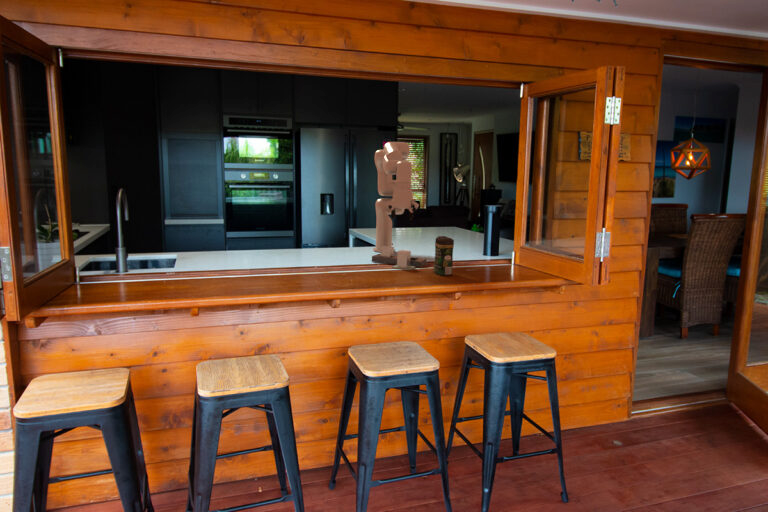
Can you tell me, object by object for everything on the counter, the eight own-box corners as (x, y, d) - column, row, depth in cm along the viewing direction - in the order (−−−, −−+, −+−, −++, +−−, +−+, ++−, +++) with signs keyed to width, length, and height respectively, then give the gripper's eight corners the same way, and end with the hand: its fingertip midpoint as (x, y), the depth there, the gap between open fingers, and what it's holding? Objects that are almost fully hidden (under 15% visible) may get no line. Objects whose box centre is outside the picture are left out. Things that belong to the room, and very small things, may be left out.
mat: (397, 265, 272) (397, 264, 272) (415, 267, 268) (415, 266, 268) (391, 267, 266) (392, 266, 266) (410, 270, 262) (410, 269, 262)
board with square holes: (378, 259, 289) (379, 253, 289) (426, 264, 278) (426, 258, 277) (371, 261, 281) (371, 256, 281) (420, 267, 270) (420, 261, 269)
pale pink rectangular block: (400, 265, 271) (401, 250, 269) (410, 266, 269) (410, 251, 267) (397, 267, 266) (397, 251, 265) (406, 268, 264) (407, 252, 262)
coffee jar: (431, 272, 259) (433, 235, 256) (446, 271, 262) (447, 234, 258) (439, 276, 250) (441, 238, 247) (454, 275, 252) (456, 237, 249)
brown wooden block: (384, 260, 286) (385, 246, 284) (393, 261, 284) (393, 247, 282) (380, 262, 281) (381, 247, 280) (389, 263, 279) (390, 248, 278)
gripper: (385, 185, 267) (383, 218, 270) (416, 187, 260) (414, 221, 264) (390, 184, 274) (389, 216, 277) (421, 186, 267) (420, 219, 270)
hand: (402, 219), depth 270 cm, fingers open, 9 cm apart
